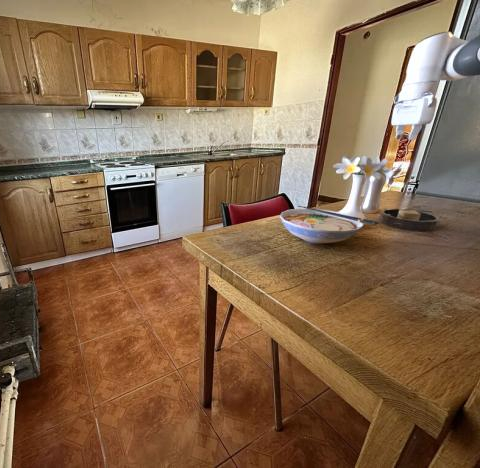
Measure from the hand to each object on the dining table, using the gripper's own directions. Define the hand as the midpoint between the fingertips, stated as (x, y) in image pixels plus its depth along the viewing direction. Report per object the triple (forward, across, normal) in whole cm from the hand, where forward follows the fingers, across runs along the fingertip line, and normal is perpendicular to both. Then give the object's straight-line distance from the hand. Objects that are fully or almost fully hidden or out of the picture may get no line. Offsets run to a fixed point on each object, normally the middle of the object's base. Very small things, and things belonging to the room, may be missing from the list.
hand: (404, 139), depth 89 cm
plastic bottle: (+30, +10, +2) cm, 31 cm away
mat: (+30, +11, -14) cm, 35 cm away
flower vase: (+30, -13, +14) cm, 35 cm away
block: (+29, -5, -6) cm, 30 cm away
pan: (+30, -5, -6) cm, 30 cm away
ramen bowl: (+30, -29, +27) cm, 49 cm away
